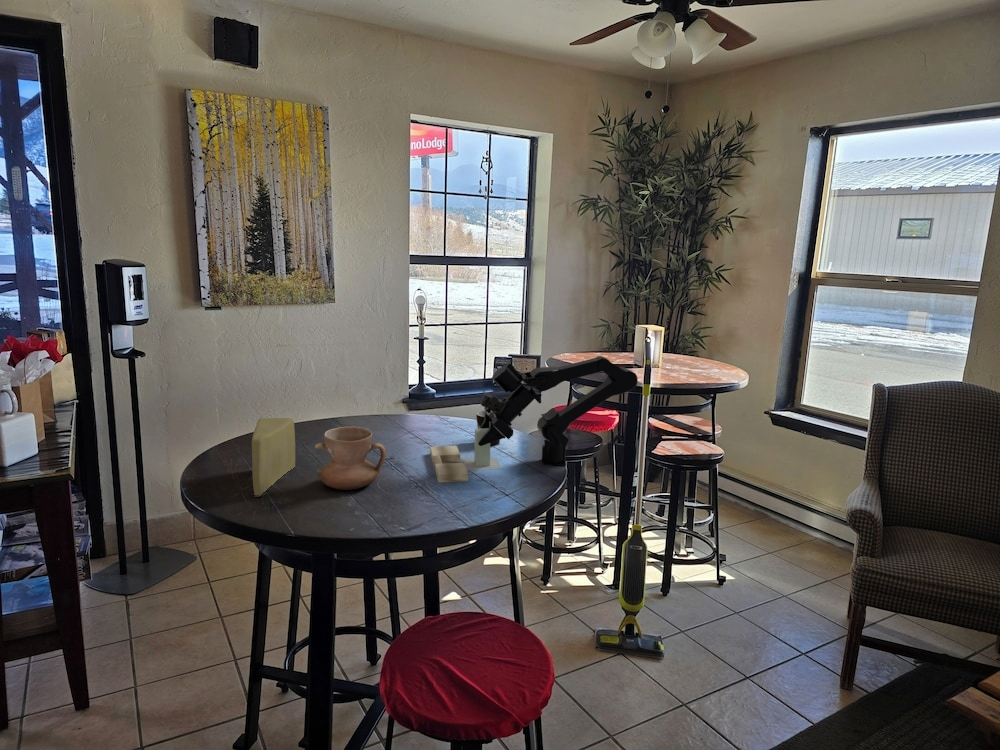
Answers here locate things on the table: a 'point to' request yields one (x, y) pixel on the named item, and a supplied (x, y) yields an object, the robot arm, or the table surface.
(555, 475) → the table surface
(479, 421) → the coffee mug
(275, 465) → the cheese
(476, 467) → the mat
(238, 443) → the table surface
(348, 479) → the ceramic jug
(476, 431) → the sage block
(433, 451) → the block
